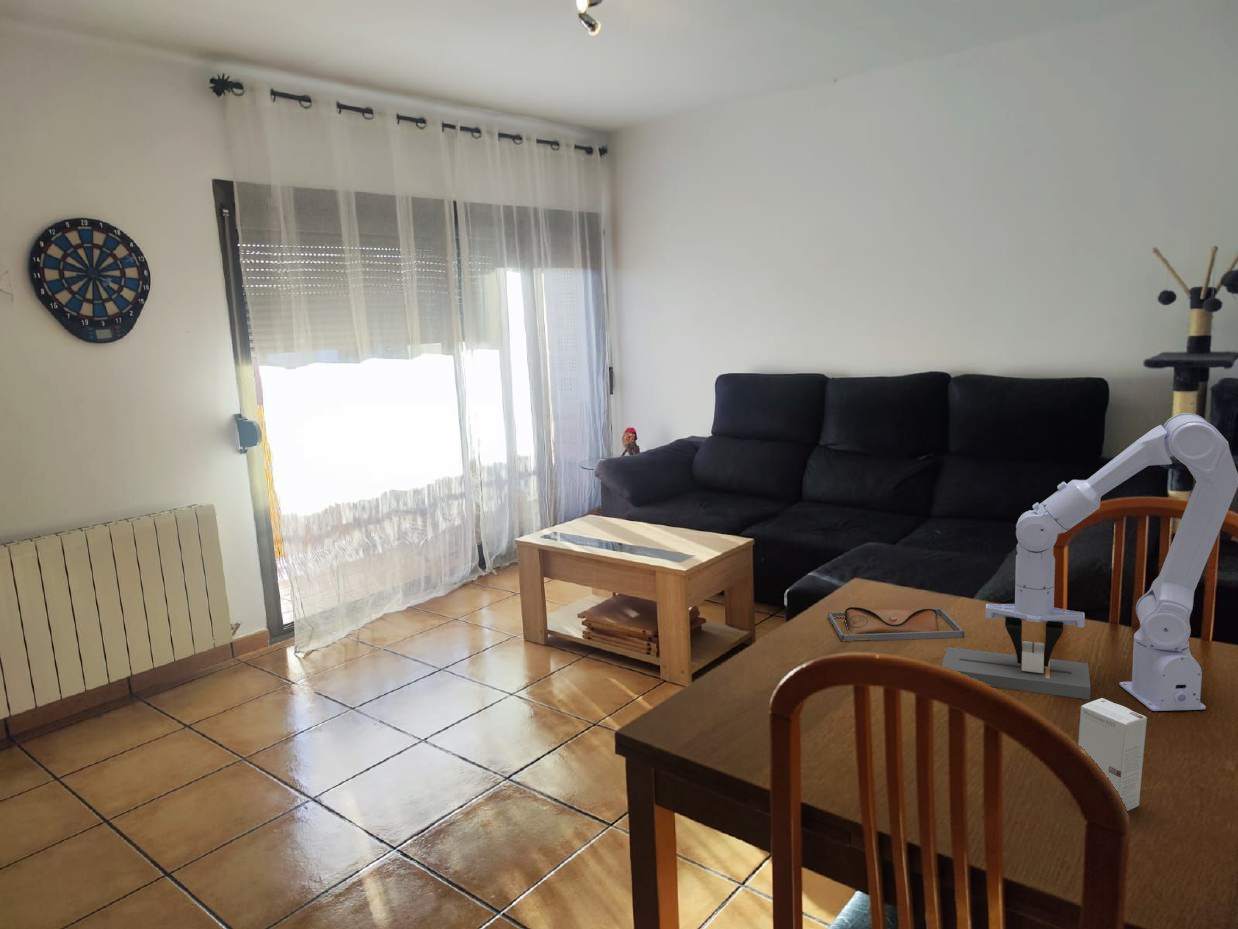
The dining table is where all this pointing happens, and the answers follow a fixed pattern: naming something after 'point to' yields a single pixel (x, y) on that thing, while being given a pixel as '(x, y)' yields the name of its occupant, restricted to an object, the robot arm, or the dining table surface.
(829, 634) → the dining table surface
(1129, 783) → the skincare box
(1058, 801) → the dining table surface
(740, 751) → the dining table surface
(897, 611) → the sunglasses case
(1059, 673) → the fader panel
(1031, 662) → the fader
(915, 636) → the case rim
